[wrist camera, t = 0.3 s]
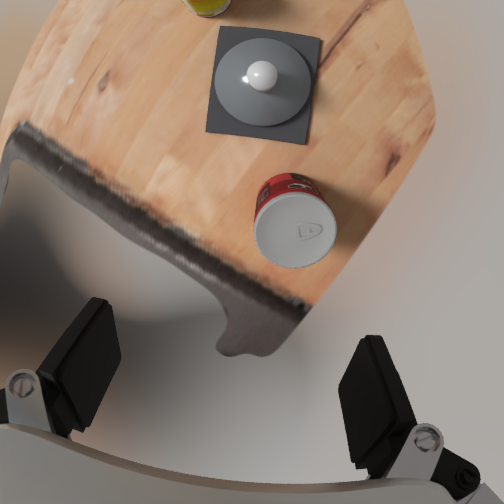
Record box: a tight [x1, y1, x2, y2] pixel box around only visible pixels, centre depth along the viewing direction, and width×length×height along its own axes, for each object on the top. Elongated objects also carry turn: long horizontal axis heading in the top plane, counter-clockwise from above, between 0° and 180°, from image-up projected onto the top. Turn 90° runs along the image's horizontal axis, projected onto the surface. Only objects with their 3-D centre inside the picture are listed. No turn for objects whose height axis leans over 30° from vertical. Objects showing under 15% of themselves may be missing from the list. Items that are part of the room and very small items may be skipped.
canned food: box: [253, 173, 337, 268], centre depth 33 cm, size 8×8×11 cm
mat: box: [206, 26, 320, 145], centre depth 31 cm, size 14×12×1 cm
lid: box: [215, 38, 311, 126], centre depth 28 cm, size 11×11×6 cm
